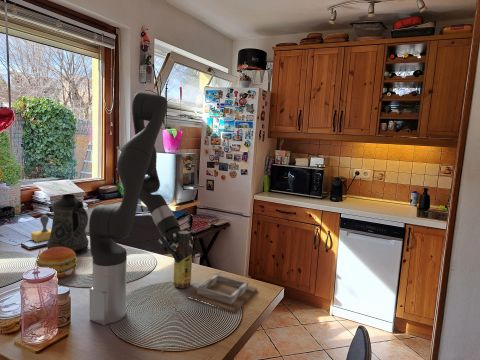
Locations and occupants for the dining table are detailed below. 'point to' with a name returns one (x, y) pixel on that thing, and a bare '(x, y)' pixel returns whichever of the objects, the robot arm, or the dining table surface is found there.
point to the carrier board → (224, 292)
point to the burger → (58, 260)
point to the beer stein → (69, 225)
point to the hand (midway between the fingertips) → (186, 259)
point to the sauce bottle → (183, 261)
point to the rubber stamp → (42, 231)
